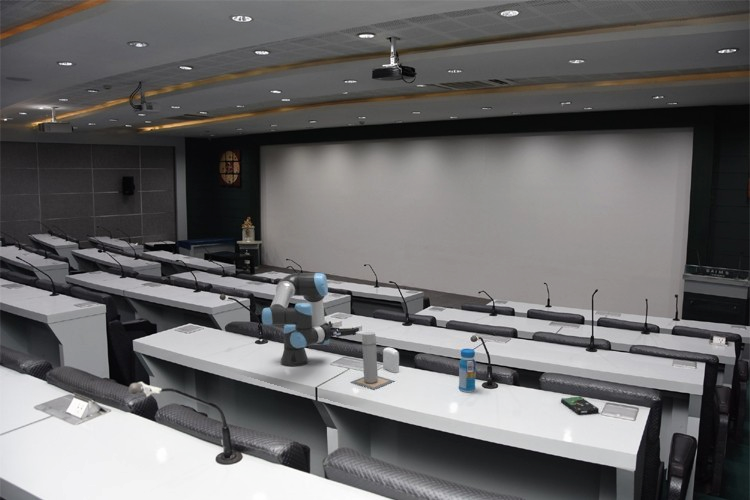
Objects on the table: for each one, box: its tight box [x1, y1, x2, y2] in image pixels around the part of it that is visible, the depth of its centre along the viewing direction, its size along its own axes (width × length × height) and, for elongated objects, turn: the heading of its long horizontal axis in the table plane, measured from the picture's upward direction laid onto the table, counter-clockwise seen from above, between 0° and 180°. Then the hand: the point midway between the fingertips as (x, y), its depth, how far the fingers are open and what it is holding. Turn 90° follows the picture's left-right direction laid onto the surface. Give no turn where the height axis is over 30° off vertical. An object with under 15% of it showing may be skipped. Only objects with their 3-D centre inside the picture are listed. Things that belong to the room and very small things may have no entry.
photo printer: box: [382, 347, 400, 373], centre depth 301 cm, size 10×4×12 cm, turn 39°
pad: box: [350, 375, 395, 391], centre depth 282 cm, size 16×16×1 cm
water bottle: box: [361, 331, 379, 383], centre depth 281 cm, size 9×8×25 cm
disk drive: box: [560, 396, 600, 416], centre depth 250 cm, size 10×3×15 cm
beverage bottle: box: [458, 348, 477, 393], centre depth 271 cm, size 8×8×20 cm
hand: (351, 325), depth 270 cm, fingers open, 13 cm apart
